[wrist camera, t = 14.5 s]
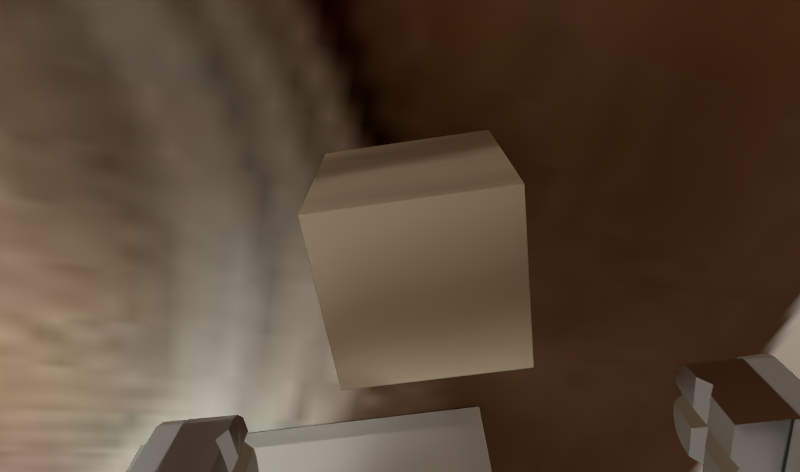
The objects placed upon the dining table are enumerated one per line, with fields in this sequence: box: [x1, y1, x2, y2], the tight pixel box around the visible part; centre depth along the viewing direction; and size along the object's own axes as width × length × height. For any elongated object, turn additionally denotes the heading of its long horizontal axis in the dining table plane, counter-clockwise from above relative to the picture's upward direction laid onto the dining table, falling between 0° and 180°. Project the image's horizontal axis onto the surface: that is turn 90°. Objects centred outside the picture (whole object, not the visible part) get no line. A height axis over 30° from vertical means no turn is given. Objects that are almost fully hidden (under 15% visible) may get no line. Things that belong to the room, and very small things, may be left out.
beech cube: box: [298, 130, 534, 390], centre depth 15 cm, size 5×5×5 cm
